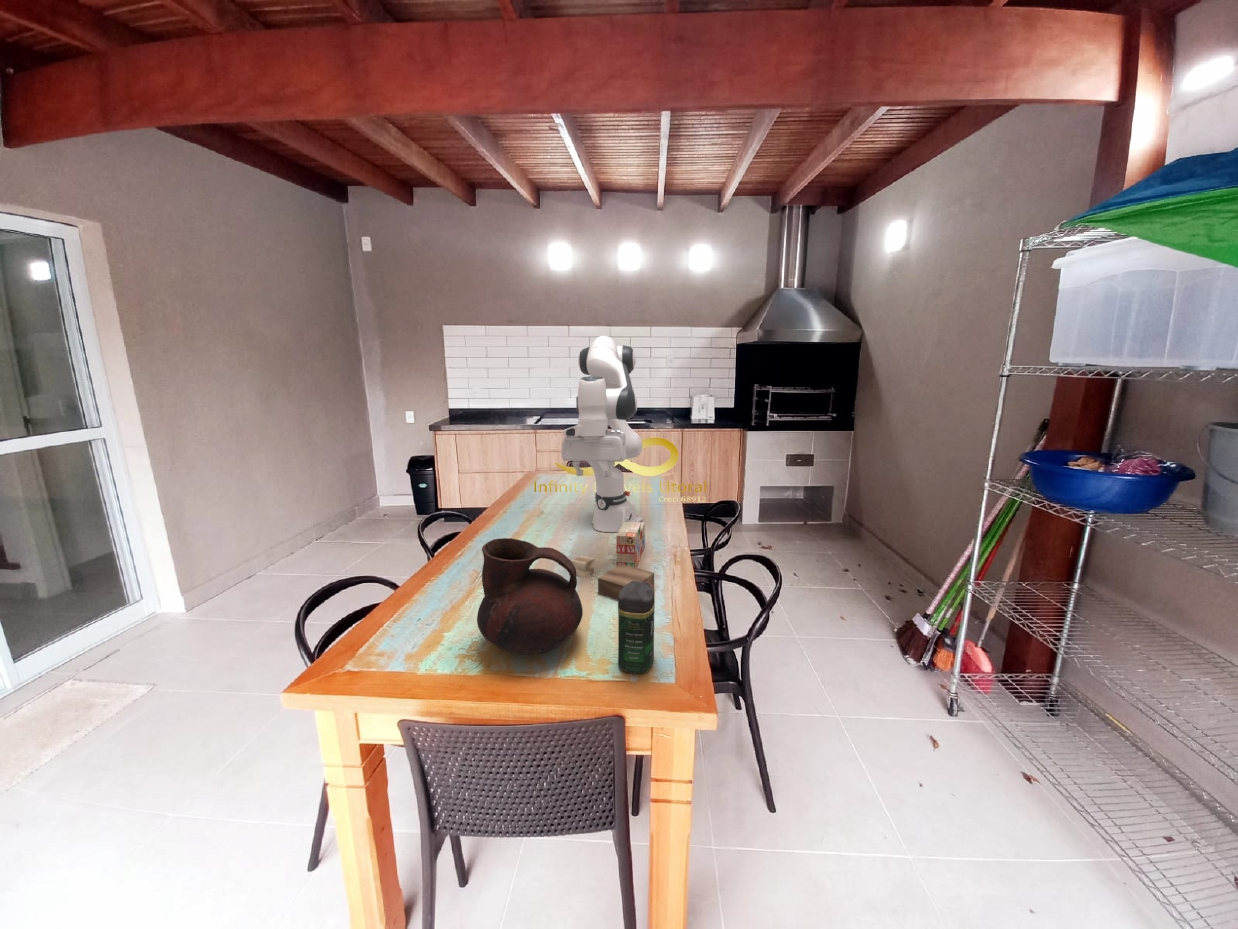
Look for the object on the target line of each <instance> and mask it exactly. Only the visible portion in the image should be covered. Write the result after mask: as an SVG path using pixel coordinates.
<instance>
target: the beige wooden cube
mask: <svg viewBox="0 0 1238 929" xmlns="http://www.w3.org/2000/svg"><path fill="white" fill-rule="evenodd" d="M571 562H572V563H573V564H574V566H575V568H576V577H577V578H581V579H584V578H585V579H586V578H589V577H590V576H592V575H593V574H595V558H594V557H589V556H586V555H583V554H581V555H580V556H578V557H576V558H573V559H572V560H571ZM589 575H590V576H589Z"/></svg>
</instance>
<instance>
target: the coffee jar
mask: <svg viewBox="0 0 1238 929" xmlns="http://www.w3.org/2000/svg"><path fill="white" fill-rule="evenodd" d="M655 605H656V604H655V588H654V589H653V587H652V586H651V585H650V584H649V583H646V582H639V581H631V582H630V583H628V584H626V585H625V586H624V587H623V588H622V590H621V592H620V594H619V596H618V600H617V614H618V618H617V619H618V620H617V621H618V622H617V623H618V624H617V625H618V629H617V630H618V635H617V636H618V637H617V638H618V639H617V640H618V644H617V645H618V646H617V648H618V649H617V651H618V652H617V654H618V655H617V665H618V667H619V669H620V670H621V671H624V672H626V673H629V674H635V675H636V674H637V675H639V674H645V673H647V672H649V671H650V669H651V667H652V665H653V662H654V658H655V608H656V607H655Z"/></svg>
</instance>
